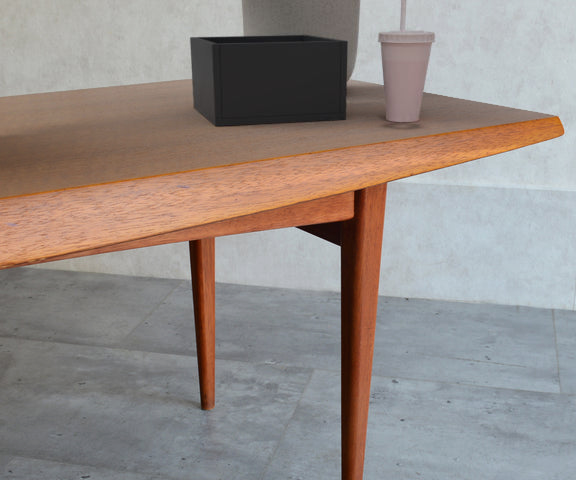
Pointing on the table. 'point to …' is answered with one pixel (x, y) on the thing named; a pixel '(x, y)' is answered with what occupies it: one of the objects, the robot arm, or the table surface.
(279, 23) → the planter
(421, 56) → the smoothie
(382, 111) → the table surface
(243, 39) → the storage bin
